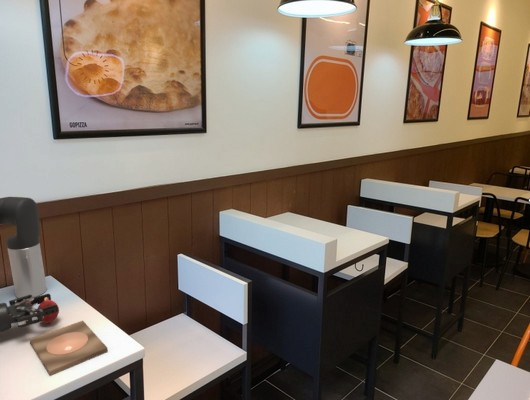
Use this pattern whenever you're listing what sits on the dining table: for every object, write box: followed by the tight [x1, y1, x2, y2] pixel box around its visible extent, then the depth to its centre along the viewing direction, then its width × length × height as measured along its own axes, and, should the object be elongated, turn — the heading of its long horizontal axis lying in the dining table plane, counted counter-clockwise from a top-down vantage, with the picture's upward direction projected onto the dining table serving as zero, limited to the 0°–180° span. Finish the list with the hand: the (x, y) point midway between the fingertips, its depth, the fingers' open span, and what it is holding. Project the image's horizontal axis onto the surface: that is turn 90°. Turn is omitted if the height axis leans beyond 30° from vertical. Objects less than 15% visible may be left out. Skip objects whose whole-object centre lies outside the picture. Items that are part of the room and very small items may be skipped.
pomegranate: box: [36, 297, 60, 324], centre depth 121 cm, size 6×6×8 cm
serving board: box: [29, 320, 109, 377], centre depth 110 cm, size 18×14×1 cm
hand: (53, 302), depth 121 cm, fingers open, 8 cm apart
